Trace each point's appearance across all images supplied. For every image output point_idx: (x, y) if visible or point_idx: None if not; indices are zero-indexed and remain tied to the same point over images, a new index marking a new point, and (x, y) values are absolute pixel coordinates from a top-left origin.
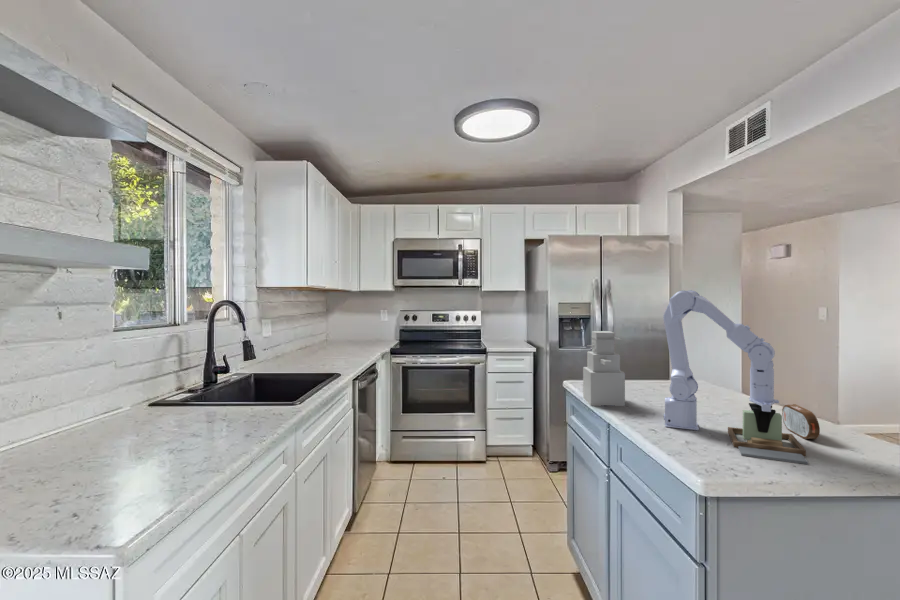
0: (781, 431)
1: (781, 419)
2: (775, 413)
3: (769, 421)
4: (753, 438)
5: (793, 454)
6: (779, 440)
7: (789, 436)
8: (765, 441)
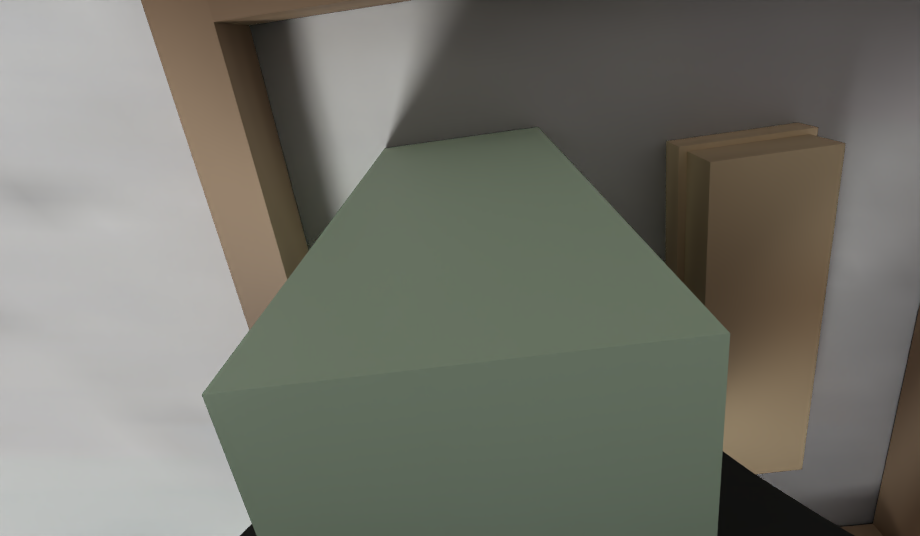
0: (569, 170)
1: (666, 273)
2: (379, 522)
3: (772, 499)
4: (744, 457)
5: None
6: (715, 179)
7: (294, 11)
8: (816, 342)
